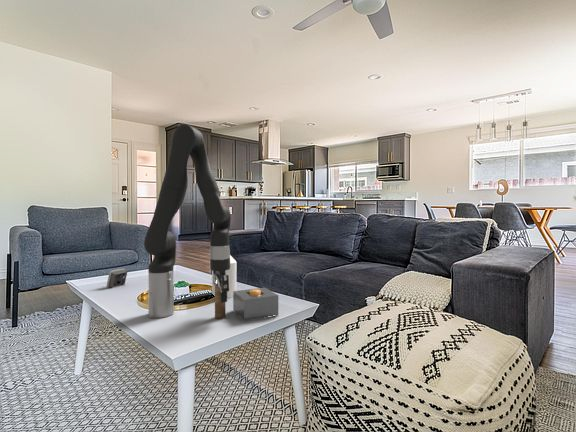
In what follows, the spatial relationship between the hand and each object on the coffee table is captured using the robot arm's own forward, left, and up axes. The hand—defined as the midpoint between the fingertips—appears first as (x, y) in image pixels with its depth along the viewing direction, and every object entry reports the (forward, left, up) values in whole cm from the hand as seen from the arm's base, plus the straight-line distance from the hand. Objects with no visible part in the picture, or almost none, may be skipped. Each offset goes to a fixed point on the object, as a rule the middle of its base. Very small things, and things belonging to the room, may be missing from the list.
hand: (221, 299), depth 125 cm
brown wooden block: (0, 0, -7) cm, 7 cm away
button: (+14, -1, -4) cm, 14 cm away
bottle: (+10, +31, -7) cm, 34 cm away
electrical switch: (-37, +75, -7) cm, 84 cm away
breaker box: (+14, -1, -7) cm, 15 cm away
